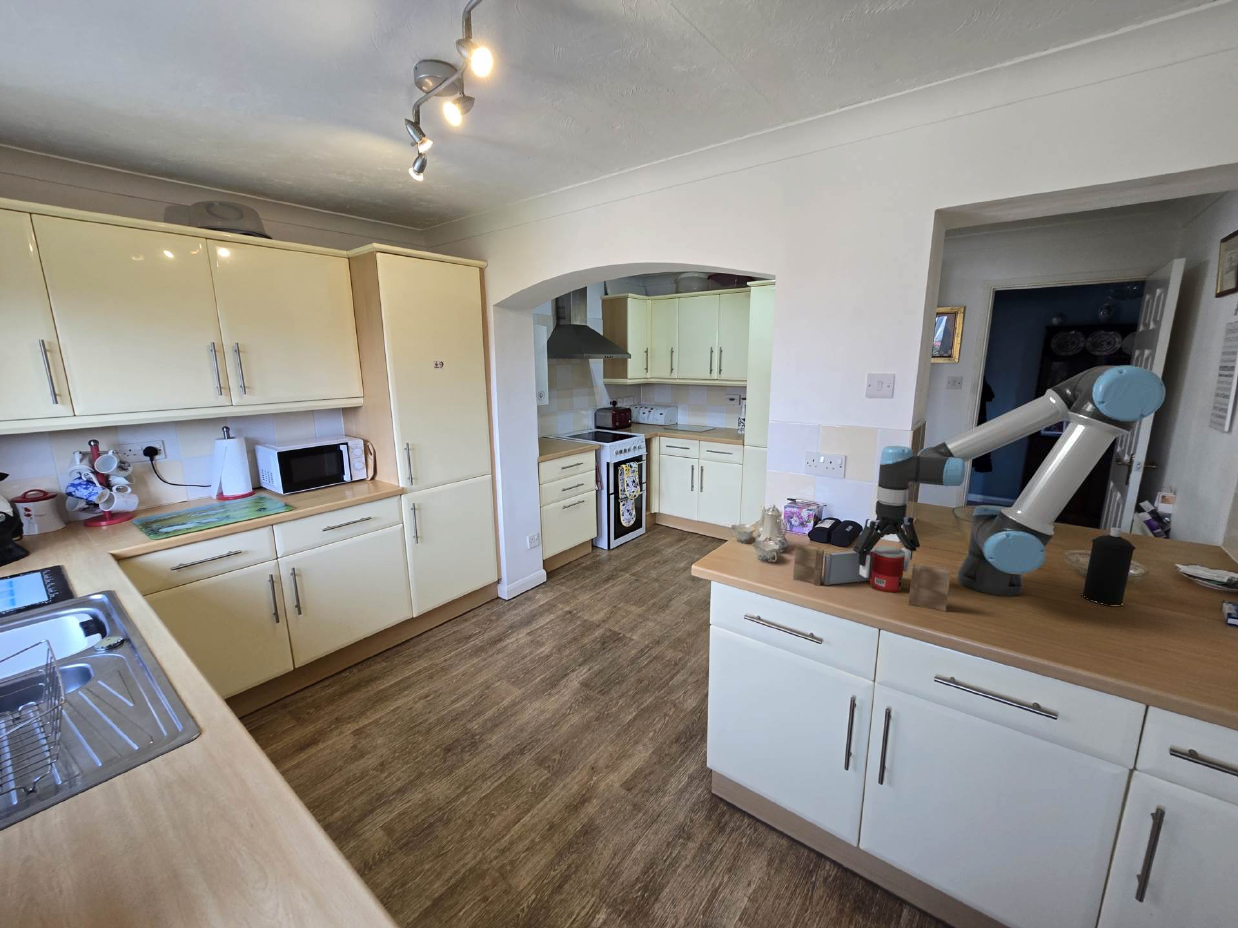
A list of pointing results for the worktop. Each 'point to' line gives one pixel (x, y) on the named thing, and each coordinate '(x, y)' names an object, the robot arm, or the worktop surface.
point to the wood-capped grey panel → (924, 588)
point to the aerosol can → (1108, 568)
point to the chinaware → (765, 534)
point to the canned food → (887, 568)
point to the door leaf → (843, 568)
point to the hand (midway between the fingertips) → (884, 573)
